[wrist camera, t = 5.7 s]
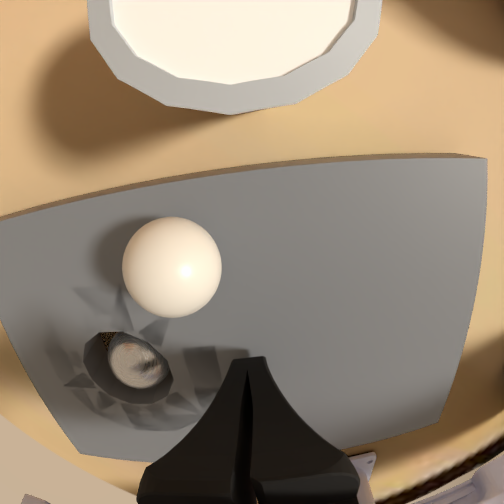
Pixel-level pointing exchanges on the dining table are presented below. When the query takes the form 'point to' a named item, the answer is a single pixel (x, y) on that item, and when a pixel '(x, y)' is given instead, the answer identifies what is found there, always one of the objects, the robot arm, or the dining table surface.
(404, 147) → the dining table surface
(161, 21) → the white tapered cup
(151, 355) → the steel ball
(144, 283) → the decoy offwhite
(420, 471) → the dining table surface
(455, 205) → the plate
